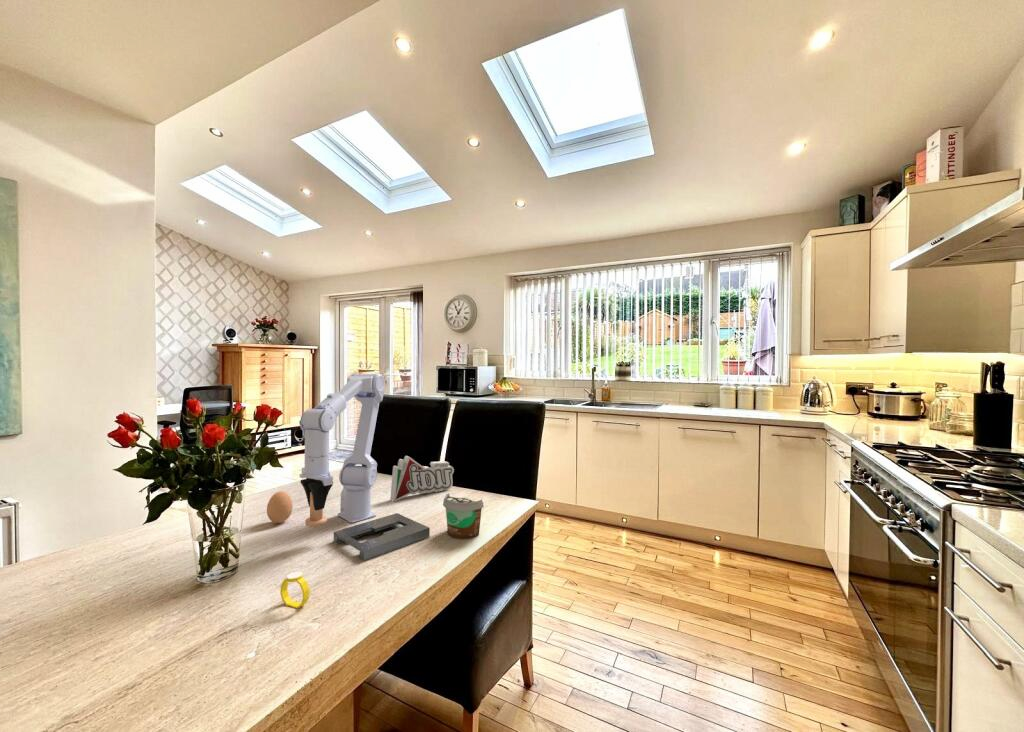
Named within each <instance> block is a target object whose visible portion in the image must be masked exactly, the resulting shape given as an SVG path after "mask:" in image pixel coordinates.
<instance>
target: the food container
mask: <svg viewBox="0 0 1024 732" xmlns="http://www.w3.org/2000/svg"><path fill="white" fill-rule="evenodd" d="M442 505H443V507H444V508H445V517H446V528H447V535H448V536H449V537H451V538H453V539H457V540H467V539H473V538H476V537H478V536H480V529H481V519H482V518H481V517H482V510H483V508H484V507H485V505H484V502H483V499H480V500H476V501H475V500H471V499H469V498H466V497H455V496H451V495H450V492H449V493H447V494H446V495H445V496H444V497H443V503H442Z"/></svg>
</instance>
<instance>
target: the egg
mask: <svg viewBox="0 0 1024 732" xmlns="http://www.w3.org/2000/svg"><path fill="white" fill-rule="evenodd" d="M266 505H267V506H266V514H267V518H268V519H269V520H270V521H271V522H272V523H274V524H283V523H284V522H286V521H287V520H288V519H289V518H290V516H291V515H292V512H293V506H294V505H293V500H292V498H291V496H290V495H289V494H288V493H287V492H285V491H281V490H280V491H277V492H275V493H274V494H273V495H271V497H270V499H269V500H268V503H267V504H266Z"/></svg>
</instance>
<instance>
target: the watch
mask: <svg viewBox="0 0 1024 732" xmlns="http://www.w3.org/2000/svg"><path fill="white" fill-rule="evenodd" d="M295 582H296V583H297V584H298V585H299V586H300V588H301V592H302V600H301V602H298V601H294V600H292V598H291V596H290V594H289V591H288V585H289V584H288V583H295ZM279 593H280V596H281V600H282V602H283V603H284V605H285V606H286V607H290V608H296V609H300V608H301V607H303V606H304V605H305V604H307V603H308V600H309V597H310V586H309V584H308V582H307V580H306V579H305V578H304V573H303V572H302V571H294V572H291V573H288V574H287V576H286V578H285V579H283V580H282V583H281V585H280V592H279Z"/></svg>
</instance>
